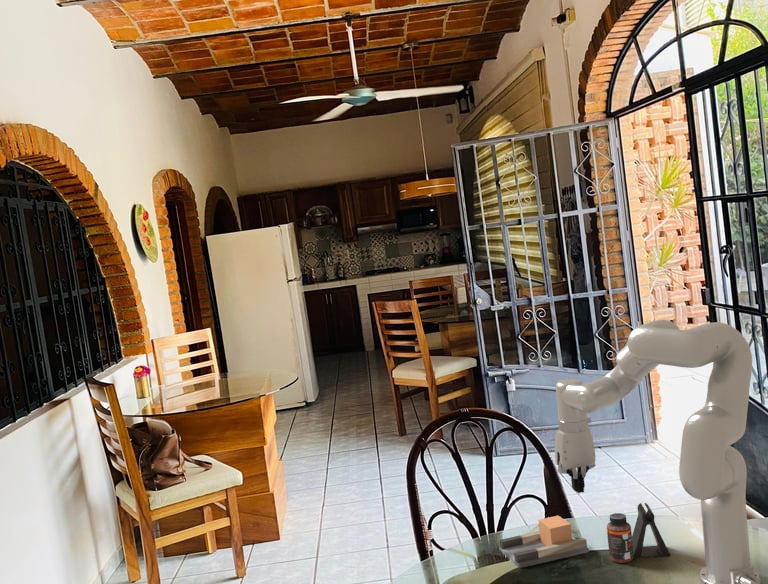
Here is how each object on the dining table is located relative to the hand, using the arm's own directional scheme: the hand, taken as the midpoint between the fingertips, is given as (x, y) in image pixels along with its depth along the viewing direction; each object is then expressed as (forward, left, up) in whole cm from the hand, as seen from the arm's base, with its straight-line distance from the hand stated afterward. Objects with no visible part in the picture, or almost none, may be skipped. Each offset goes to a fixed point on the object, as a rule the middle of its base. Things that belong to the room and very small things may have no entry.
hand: (578, 491), depth 200 cm
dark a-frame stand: (-14, -11, -14) cm, 23 cm away
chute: (0, +12, -14) cm, 19 cm away
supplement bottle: (-14, -3, -14) cm, 20 cm away
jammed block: (0, +8, -13) cm, 15 cm away
